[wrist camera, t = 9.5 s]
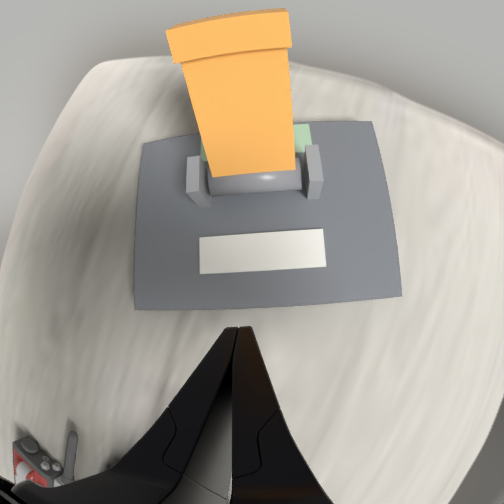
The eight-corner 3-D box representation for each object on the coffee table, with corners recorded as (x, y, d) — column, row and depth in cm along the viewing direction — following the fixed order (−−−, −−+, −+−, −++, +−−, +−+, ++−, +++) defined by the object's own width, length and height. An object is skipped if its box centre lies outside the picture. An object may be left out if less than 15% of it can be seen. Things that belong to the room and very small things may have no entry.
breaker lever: (301, 196, 18) (290, 11, 9) (213, 203, 19) (163, 31, 10) (298, 176, 19) (286, 8, 10) (216, 183, 20) (174, 24, 11)
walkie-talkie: (76, 531, 17) (91, 435, 20) (57, 546, 13) (62, 450, 15) (27, 490, 19) (31, 383, 21) (7, 500, 15) (1, 389, 17)
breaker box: (394, 297, 19) (420, 294, 14) (144, 309, 21) (111, 309, 16) (367, 131, 21) (380, 97, 17) (150, 152, 23) (126, 124, 19)
